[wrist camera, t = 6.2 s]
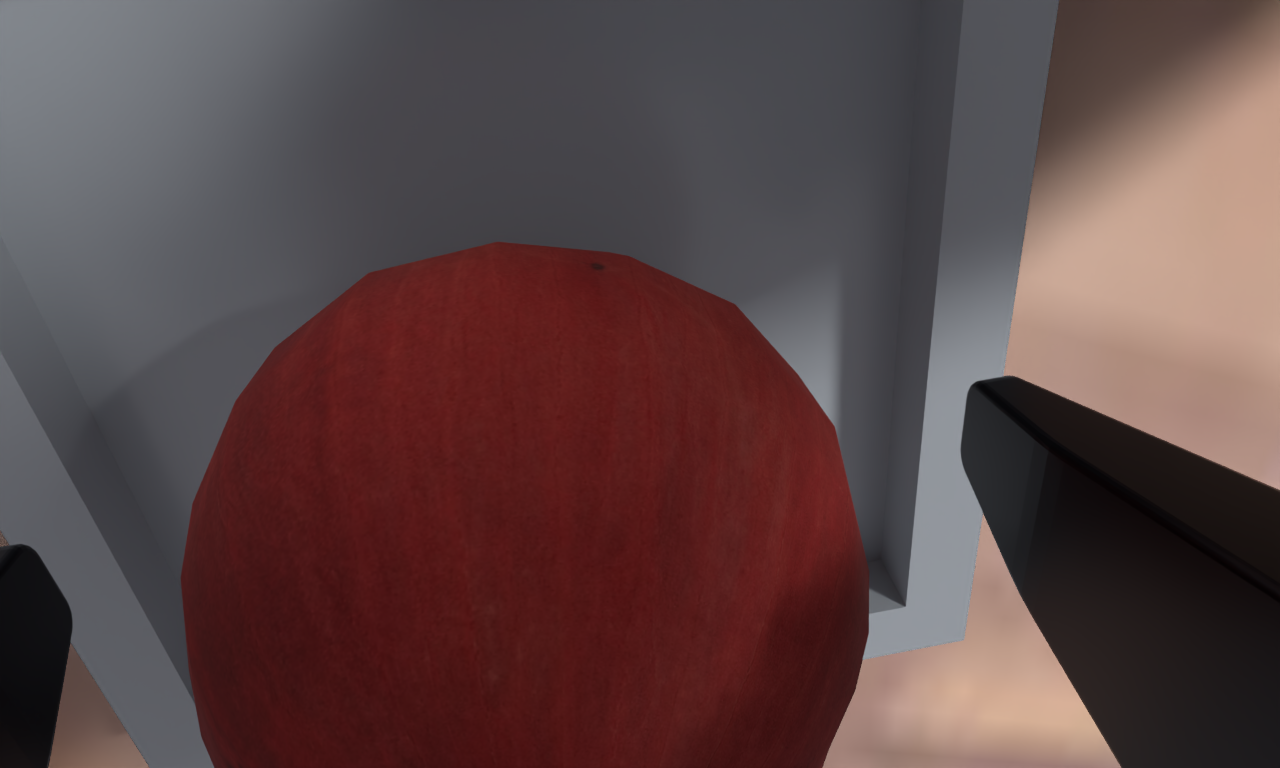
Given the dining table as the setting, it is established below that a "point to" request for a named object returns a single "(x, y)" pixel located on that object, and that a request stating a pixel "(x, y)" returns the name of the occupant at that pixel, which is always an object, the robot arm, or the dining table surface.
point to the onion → (524, 532)
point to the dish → (490, 241)
